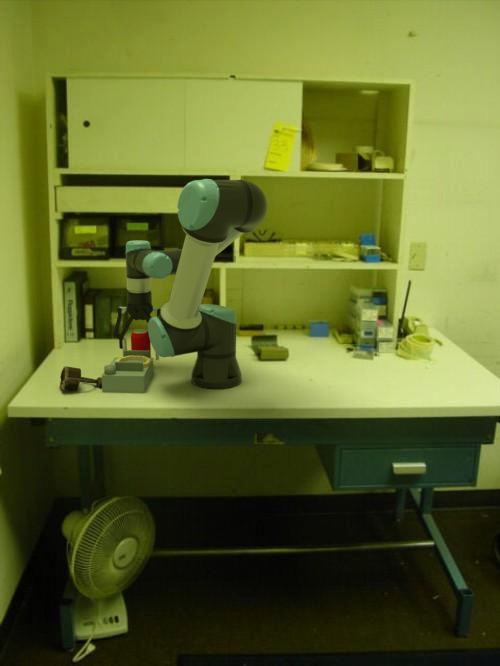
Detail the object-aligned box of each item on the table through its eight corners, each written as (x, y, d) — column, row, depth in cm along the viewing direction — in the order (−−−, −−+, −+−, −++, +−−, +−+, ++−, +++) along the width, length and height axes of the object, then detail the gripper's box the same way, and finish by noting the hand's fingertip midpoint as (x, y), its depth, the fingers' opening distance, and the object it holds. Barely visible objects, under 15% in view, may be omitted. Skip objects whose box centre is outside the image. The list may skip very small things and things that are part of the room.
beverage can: (146, 362, 203) (145, 327, 200) (154, 367, 198) (153, 331, 195) (129, 365, 200) (127, 329, 196) (136, 370, 195) (135, 334, 191)
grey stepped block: (153, 373, 192) (153, 350, 190) (144, 392, 176) (143, 367, 174) (115, 372, 192) (114, 349, 190) (102, 391, 176) (101, 367, 174)
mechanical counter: (61, 365, 182) (51, 368, 172) (104, 361, 183) (97, 364, 173) (63, 389, 183) (54, 393, 173) (106, 385, 183) (100, 389, 173)
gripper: (176, 288, 196) (177, 355, 202) (106, 287, 196) (109, 354, 202) (173, 293, 188) (174, 363, 194) (100, 292, 189) (103, 361, 194)
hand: (141, 358), depth 198 cm, fingers open, 10 cm apart
